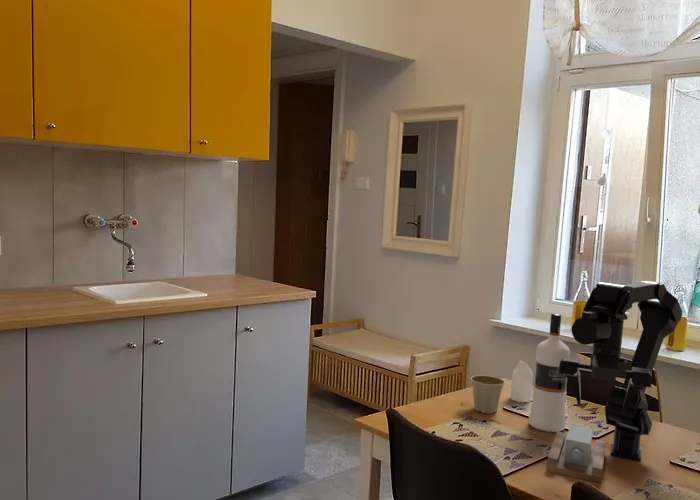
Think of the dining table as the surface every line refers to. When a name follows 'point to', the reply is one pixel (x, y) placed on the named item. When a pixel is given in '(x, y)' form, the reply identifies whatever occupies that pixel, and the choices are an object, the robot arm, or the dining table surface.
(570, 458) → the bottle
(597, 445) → the u rest
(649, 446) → the dining table surface
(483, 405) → the flower pot
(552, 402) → the vodka
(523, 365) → the white pointed cylinder
